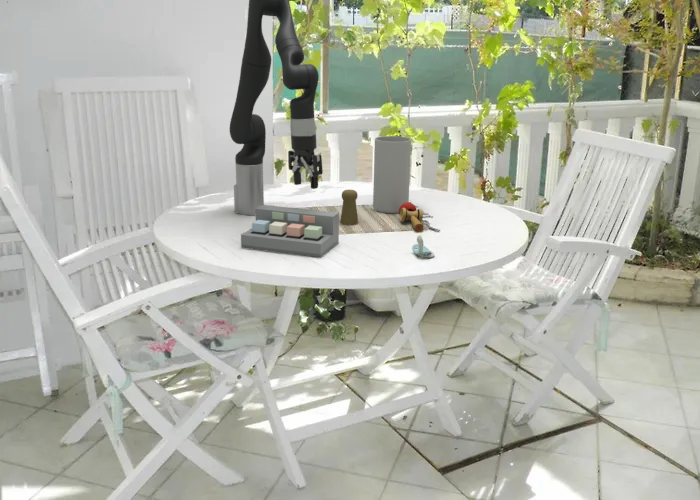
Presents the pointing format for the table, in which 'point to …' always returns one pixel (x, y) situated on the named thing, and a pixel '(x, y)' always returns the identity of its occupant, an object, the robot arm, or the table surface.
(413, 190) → the table surface
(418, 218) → the kendama
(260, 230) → the key blue
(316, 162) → the robot arm
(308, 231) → the key sage
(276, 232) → the key cream
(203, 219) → the table surface
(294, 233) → the key coral
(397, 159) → the cylinder vase
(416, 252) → the pacifier
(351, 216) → the olive ball-ended cylinder
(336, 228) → the keypad
